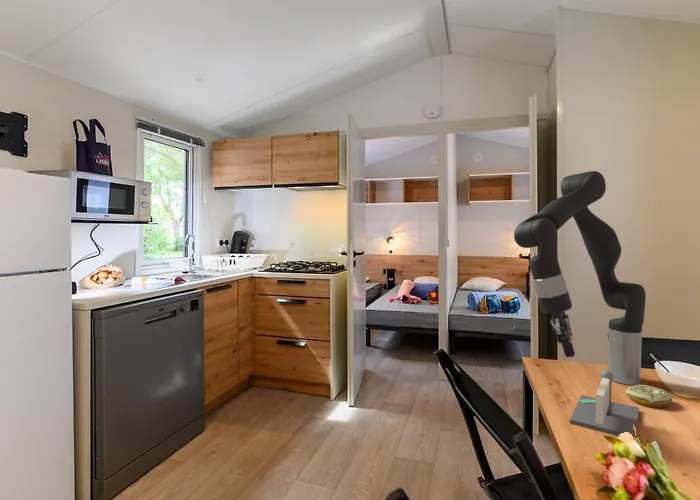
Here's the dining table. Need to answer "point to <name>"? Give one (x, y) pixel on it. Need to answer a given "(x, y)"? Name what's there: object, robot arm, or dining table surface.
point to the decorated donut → (649, 396)
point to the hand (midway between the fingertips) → (570, 356)
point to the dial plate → (613, 422)
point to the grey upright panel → (603, 397)
